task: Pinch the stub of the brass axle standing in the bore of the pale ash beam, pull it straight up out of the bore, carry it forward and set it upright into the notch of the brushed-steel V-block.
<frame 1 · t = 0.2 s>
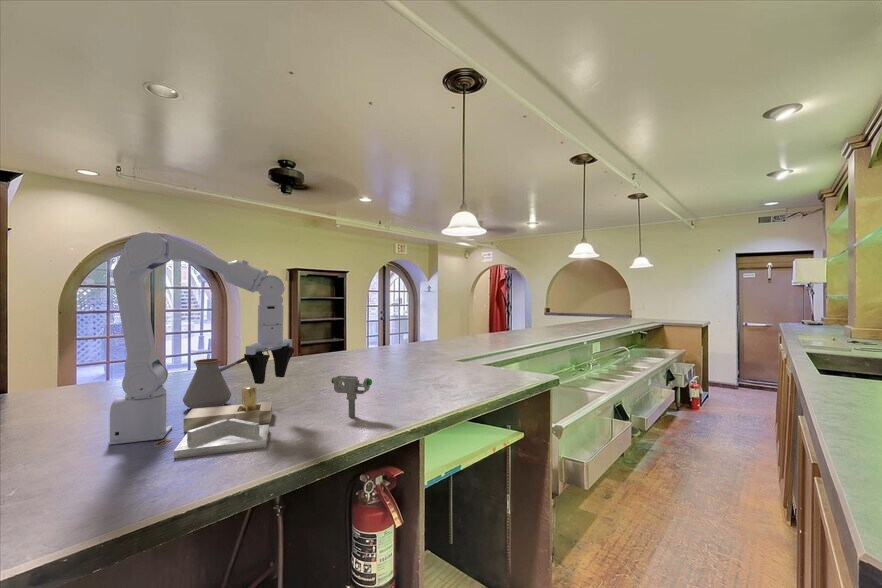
hand: (270, 380, 96), 10 cm above the counter, tool pointing down, fingers open, 7 cm apart
beam: (231, 421, 96), on the counter
axle: (249, 420, 97), resting in beam
mechanical component: (351, 417, 100), on the counter
v-block: (225, 443, 82), on the counter
coffee pot: (228, 405, 111), on the counter
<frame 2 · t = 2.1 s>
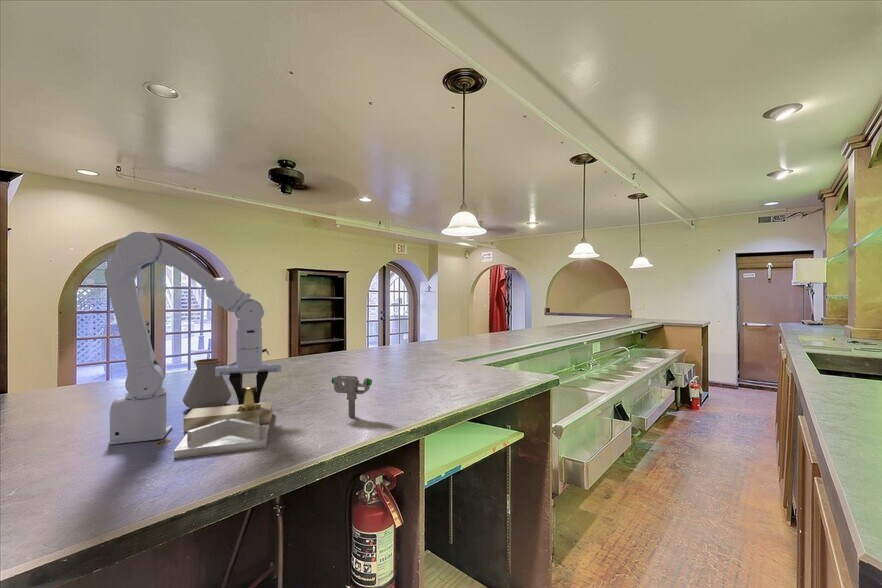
hand: (249, 403, 97), 4 cm above the counter, tool pointing down, fingers closed on axle, 3 cm apart
axle: (249, 420, 97), resting in beam, touching gripper
everything else where it was.
when the fingers open (7 cm above the counter, at t = 6.0 s): axle stays where it is, resting on v-block.
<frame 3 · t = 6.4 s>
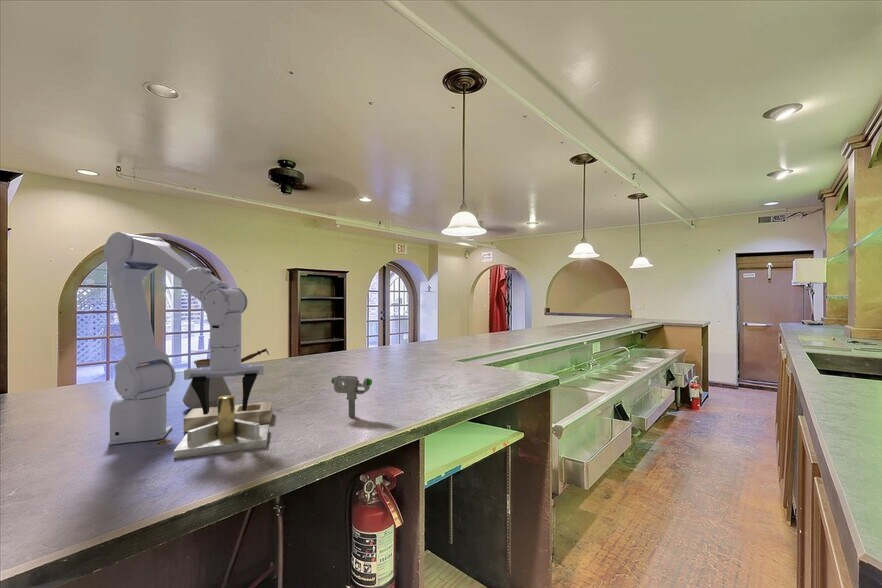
hand: (225, 411, 82), 7 cm above the counter, tool pointing down, fingers open, 6 cm apart
axle: (226, 435, 83), point 2 cm above the counter, touching v-block
everything else where it was.
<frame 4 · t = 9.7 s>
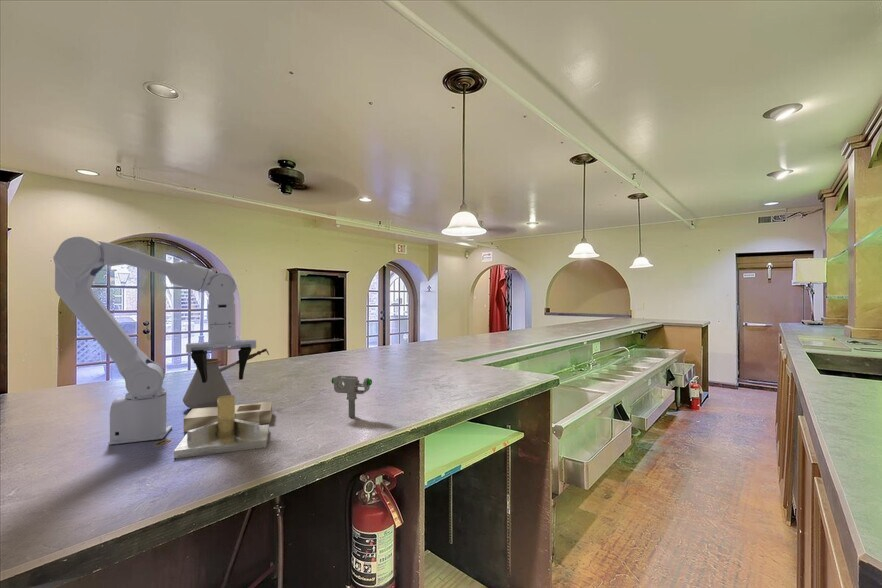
hand: (223, 380, 94), 10 cm above the counter, tool pointing down, fingers open, 7 cm apart
nothing on the counter moved.
at the end: axle 0.6 cm off-centre on the v-block, point 1.5 cm above the v-block's base; axle tilted 1°; the gripper is holding nothing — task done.
